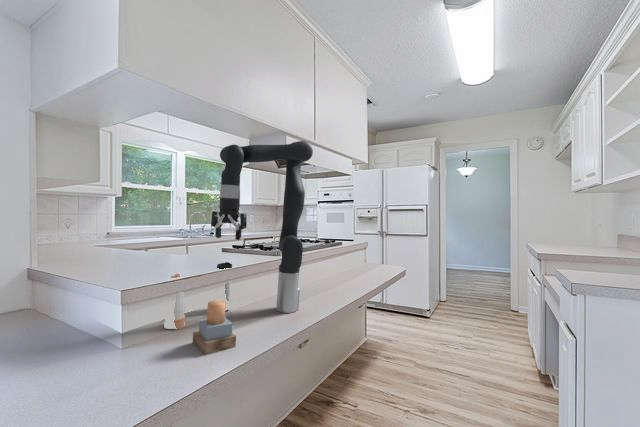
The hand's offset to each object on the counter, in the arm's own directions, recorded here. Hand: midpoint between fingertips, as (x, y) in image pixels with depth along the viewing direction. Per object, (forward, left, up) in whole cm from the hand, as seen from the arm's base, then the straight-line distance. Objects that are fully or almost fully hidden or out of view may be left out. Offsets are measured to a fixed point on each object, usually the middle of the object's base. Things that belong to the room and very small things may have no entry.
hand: (228, 238), depth 123 cm
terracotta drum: (+11, +18, -25) cm, 32 cm away
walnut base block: (+12, +18, -33) cm, 39 cm away
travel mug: (-5, -12, -32) cm, 35 cm away
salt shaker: (+17, -4, -32) cm, 37 cm away
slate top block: (+11, +18, -29) cm, 36 cm away
